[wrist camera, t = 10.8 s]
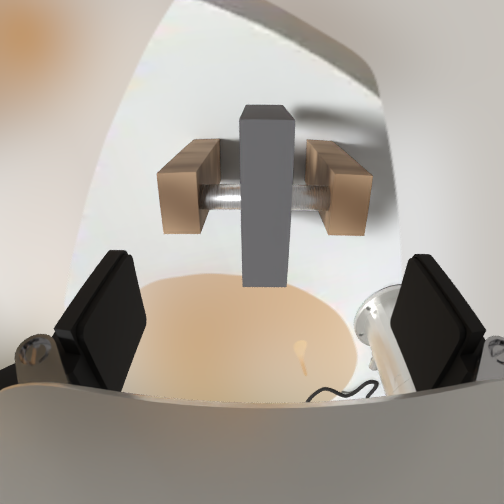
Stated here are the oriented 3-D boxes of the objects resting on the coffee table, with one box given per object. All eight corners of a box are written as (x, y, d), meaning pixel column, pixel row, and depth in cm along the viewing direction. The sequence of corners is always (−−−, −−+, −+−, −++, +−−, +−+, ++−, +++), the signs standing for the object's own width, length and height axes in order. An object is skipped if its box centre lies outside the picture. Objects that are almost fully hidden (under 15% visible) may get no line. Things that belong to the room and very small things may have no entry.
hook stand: (329, 181, 37) (364, 235, 25) (196, 179, 37) (163, 233, 25) (332, 141, 35) (372, 176, 22) (193, 139, 35) (156, 173, 22)
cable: (302, 378, 57) (302, 401, 53) (381, 378, 56) (385, 400, 52) (292, 411, 66) (291, 430, 62) (359, 411, 65) (361, 430, 61)
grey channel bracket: (279, 225, 35) (286, 287, 26) (247, 224, 35) (242, 286, 26) (282, 105, 28) (295, 120, 19) (246, 104, 28) (239, 119, 19)
